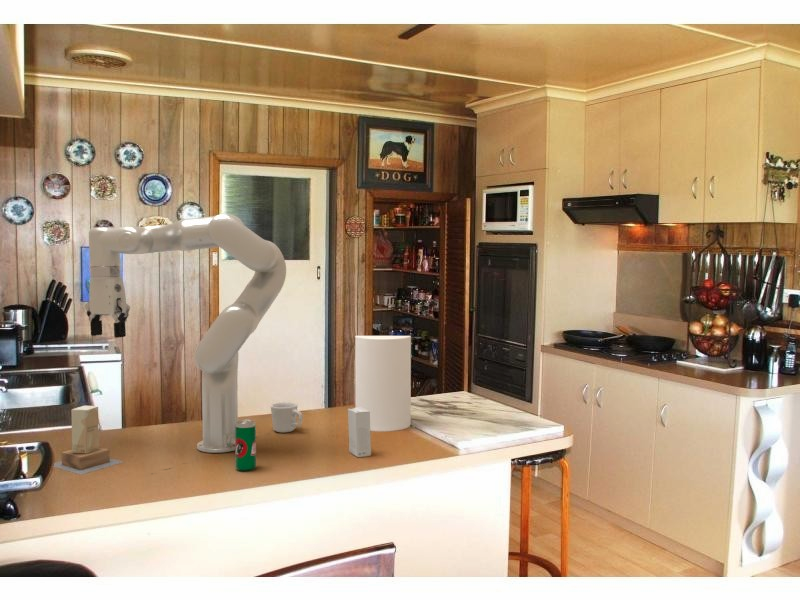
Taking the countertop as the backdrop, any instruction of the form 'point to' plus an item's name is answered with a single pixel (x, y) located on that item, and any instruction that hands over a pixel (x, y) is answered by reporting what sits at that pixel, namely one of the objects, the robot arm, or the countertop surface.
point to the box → (85, 429)
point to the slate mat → (111, 463)
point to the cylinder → (384, 380)
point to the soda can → (245, 445)
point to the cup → (285, 416)
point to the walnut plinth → (85, 458)
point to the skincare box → (359, 432)
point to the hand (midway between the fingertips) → (108, 336)
